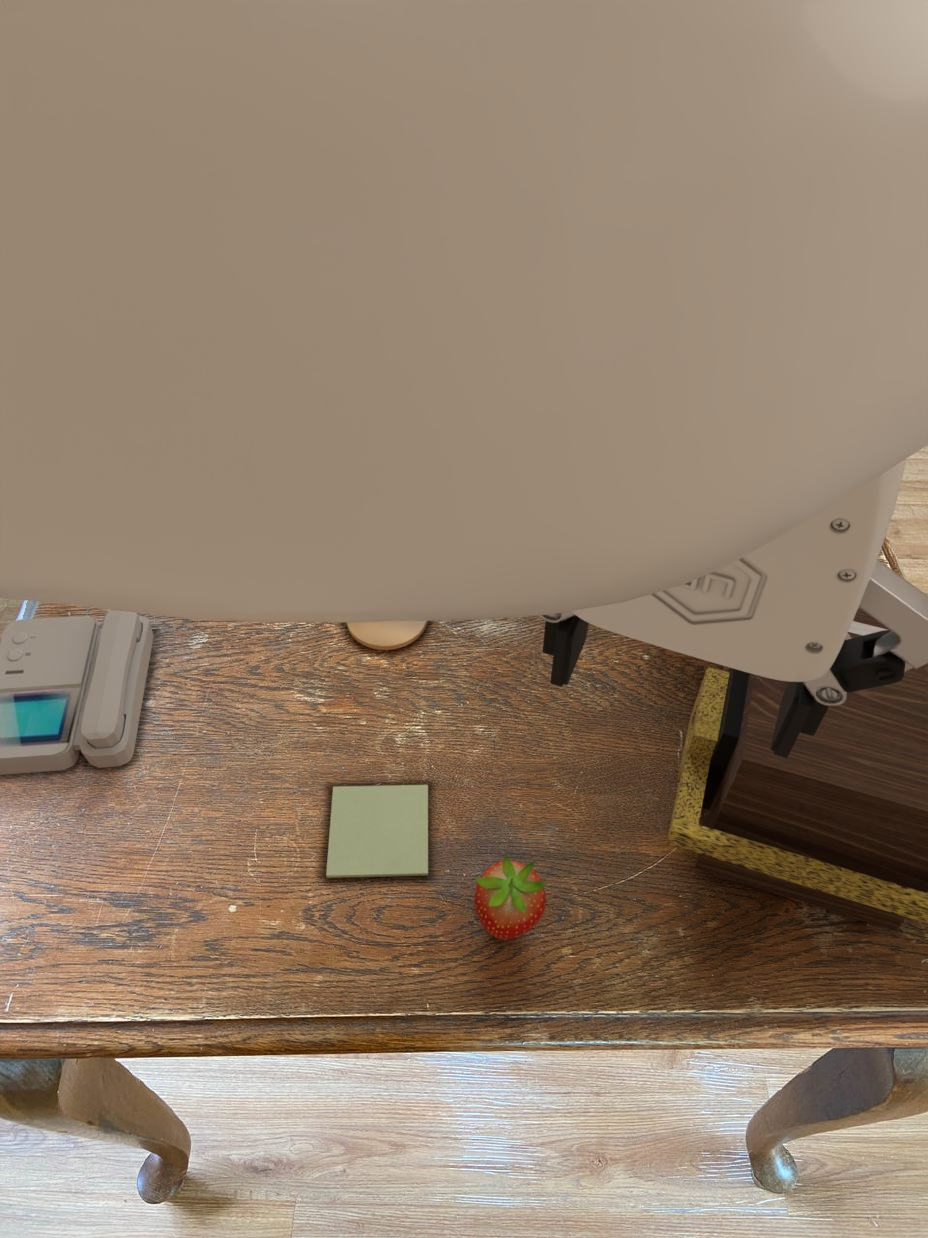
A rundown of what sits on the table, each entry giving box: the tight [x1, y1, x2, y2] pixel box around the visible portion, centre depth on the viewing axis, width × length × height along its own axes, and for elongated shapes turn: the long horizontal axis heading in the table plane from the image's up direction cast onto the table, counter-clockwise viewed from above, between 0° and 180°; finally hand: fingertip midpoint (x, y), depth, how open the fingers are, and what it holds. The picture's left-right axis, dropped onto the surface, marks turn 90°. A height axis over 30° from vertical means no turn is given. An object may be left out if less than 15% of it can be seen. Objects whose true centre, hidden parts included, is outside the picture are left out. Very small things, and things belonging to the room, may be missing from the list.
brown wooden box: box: [666, 607, 928, 932], centre depth 72 cm, size 21×15×30 cm
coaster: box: [345, 621, 429, 651], centre depth 89 cm, size 8×8×1 cm
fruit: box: [473, 853, 547, 940], centre depth 66 cm, size 5×5×8 cm
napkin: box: [325, 784, 429, 879], centre depth 74 cm, size 8×8×1 cm
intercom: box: [0, 606, 155, 776], centre depth 84 cm, size 13×4×25 cm
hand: (672, 695), depth 40 cm, fingers open, 9 cm apart
